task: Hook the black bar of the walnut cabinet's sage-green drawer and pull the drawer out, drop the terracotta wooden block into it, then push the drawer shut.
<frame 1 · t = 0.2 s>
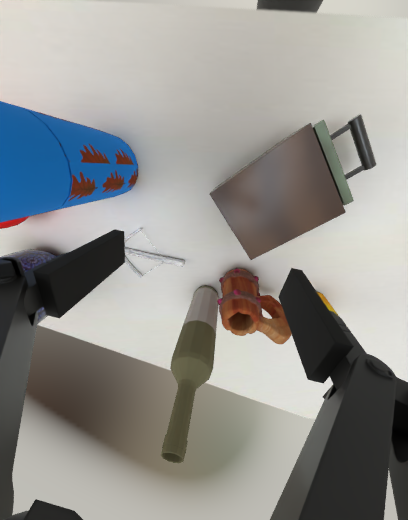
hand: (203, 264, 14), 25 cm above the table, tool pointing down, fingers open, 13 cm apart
crossbow: (152, 254, 44), on the table
cabinet: (265, 194, 35), on the table
mug: (249, 282, 44), on the table
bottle: (206, 294, 47), on the table
planter: (55, 270, 51), on the table
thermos: (113, 166, 37), on the table
drawer: (297, 181, 29), point 5 cm above the table, slide at 0.5 cm
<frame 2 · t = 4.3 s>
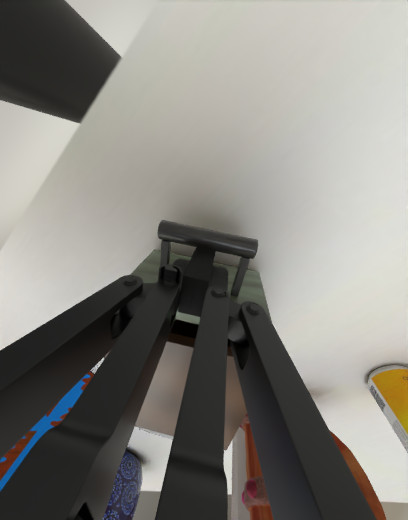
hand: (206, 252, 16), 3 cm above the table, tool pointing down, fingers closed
cabinet: (194, 320, 25), on the table
mug: (280, 395, 30), on the table
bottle: (249, 423, 35), on the table
beer can: (389, 375, 25), on the table
planter: (121, 453, 51), on the table
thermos: (74, 376, 36), on the table
drawer: (193, 316, 18), point 5 cm above the table, slide at 1.3 cm, touching gripper
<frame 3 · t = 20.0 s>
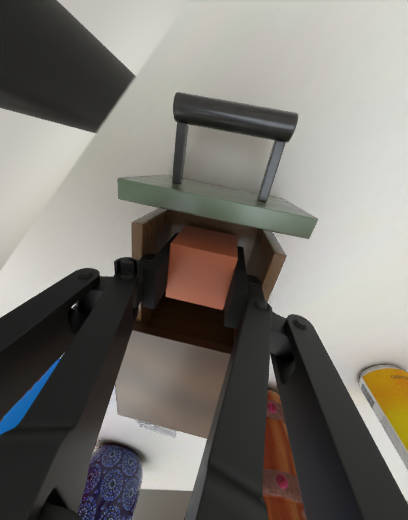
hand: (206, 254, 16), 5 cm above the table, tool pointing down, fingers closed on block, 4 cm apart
crossbow: (166, 413, 39), on the table
cabinet: (195, 321, 26), on the table
mug: (276, 393, 31), on the table
block: (206, 253, 17), point 4 cm above the table, touching gripper
beer can: (379, 375, 26), on the table
planter: (121, 451, 52), on the table
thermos: (78, 374, 37), on the table
drawer: (209, 243, 16), point 5 cm above the table, slide at 9.7 cm
when the fingers open (8 cm above the table, at t = 29.2 s): block moves 10 cm, resting on drawer.
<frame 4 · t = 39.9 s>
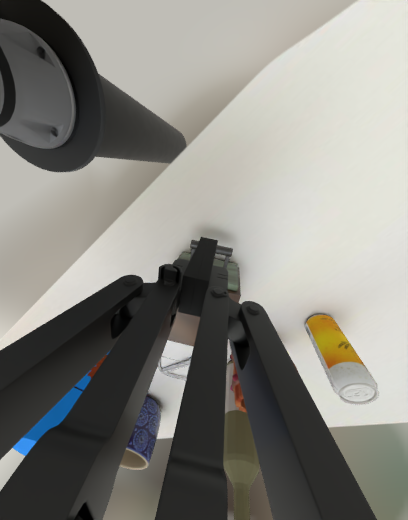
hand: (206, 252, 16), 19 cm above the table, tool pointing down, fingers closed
crossbow: (181, 361, 55), on the table
cabinet: (203, 288, 42), on the table
mug: (256, 340, 47), on the table
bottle: (238, 364, 52), on the table
beer can: (318, 322, 42), on the table
planter: (144, 401, 68), on the table
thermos: (120, 333, 53), on the table
drawer: (203, 285, 36), point 5 cm above the table, slide at 0.0 cm, touching block, cabinet
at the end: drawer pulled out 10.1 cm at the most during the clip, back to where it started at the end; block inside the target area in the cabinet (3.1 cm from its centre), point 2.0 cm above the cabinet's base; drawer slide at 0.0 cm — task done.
